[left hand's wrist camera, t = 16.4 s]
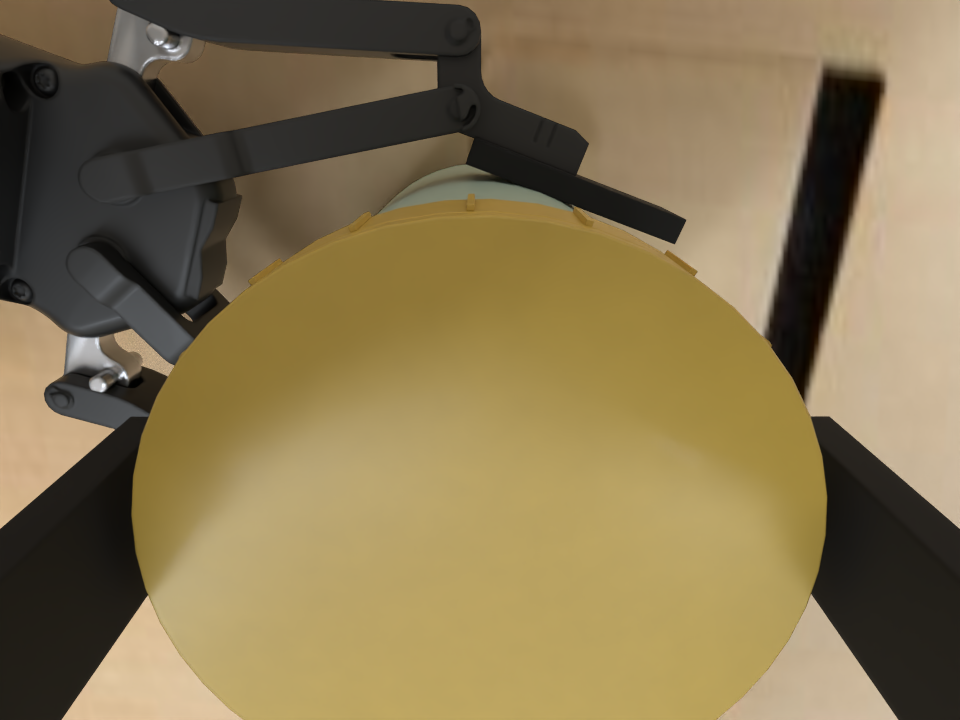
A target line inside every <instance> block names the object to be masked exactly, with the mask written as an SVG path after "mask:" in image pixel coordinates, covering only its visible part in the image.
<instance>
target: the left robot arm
mask: <svg viewBox="0 0 960 720" xmlns="http://www.w3.org/2000/svg"><path fill="white" fill-rule="evenodd" d="M148 418H149V417H130V418H128V419H127V420H126V421H125V422H124V423H123V424H122V425H120V426H119V427H118V428H117V429H116V430H115V431H113V432H112V433H111V434H110V435H109V436H108V437H106V438H105V439H104V440H103V441H102V442H101V443H99V444H98V445H97V446H96V447H95V448H94V449H93V450H91V451H90V452H89V453H88V454H87V455H86V456H84V457H83V458H82V459H81V460H80V461H79V462H77V463H76V464H75V465H74V466H73V467H72V468H70V469H69V470H68V471H67V472H66V473H65V474H64V475H62V476H61V477H60V478H59V479H58V480H57V481H55V482H54V483H53V484H52V485H51V486H50V487H48V488H47V489H46V490H45V491H44V492H43V493H41V494H40V495H39V496H38V497H37V498H36V499H35V500H33V501H32V502H31V503H30V504H29V505H28V506H26V507H25V508H24V509H23V510H22V511H21V512H19V513H18V514H17V515H16V516H15V517H14V518H12V519H11V520H10V521H9V522H8V523H7V524H6V525H4V526H3V527H2V528H1V529H0V720H62V718H63V717H64V715H65V714H66V712H67V711H68V710H69V708H70V707H71V705H72V704H73V702H74V701H75V699H76V698H77V697H78V695H79V694H80V692H81V691H82V689H83V688H84V686H85V685H86V684H87V682H88V681H89V679H90V678H91V676H92V675H93V673H94V672H95V671H96V669H97V668H98V666H99V665H100V663H101V662H102V660H103V659H104V658H105V656H106V655H107V653H108V652H109V650H110V649H111V647H112V646H113V645H114V643H115V642H116V640H117V639H118V637H119V636H120V634H121V633H122V632H123V630H124V629H125V627H126V626H127V624H128V623H129V621H130V620H131V619H132V617H133V616H134V614H135V613H136V611H137V610H138V609H139V607H140V606H141V604H142V603H143V601H144V600H145V598H146V597H147V596H148V593H147V591H146V589H145V585H144V582H143V578H142V574H141V571H140V567H139V563H138V559H137V556H136V551H135V542H134V534H133V525H132V516H131V512H132V491H133V474H134V469H135V464H136V460H137V455H138V450H139V445H140V441H141V436H142V433H143V430H144V428H145V425H146V423H147V420H148ZM811 420H812V423H813V427H814V430H815V433H816V437H817V440H818V444H819V447H820V450H821V454H822V459H823V467H824V475H825V483H826V491H827V515H826V536H825V541H824V547H823V552H822V557H821V562H820V567H819V572H818V575H817V578H816V581H815V583H814V586H813V589H812V592H811V594H812V596H813V597H814V598H815V600H816V601H817V603H818V604H819V606H820V607H821V609H822V610H823V611H824V613H825V614H826V616H827V617H828V619H829V620H830V622H831V623H832V624H833V626H834V627H835V629H836V630H837V632H838V633H839V634H840V636H841V637H842V639H843V640H844V642H845V643H846V645H847V646H848V647H849V649H850V650H851V652H852V653H853V655H854V656H855V658H856V659H857V660H858V662H859V663H860V665H861V666H862V668H863V669H864V671H865V672H866V673H867V675H868V676H869V678H870V679H871V681H872V682H873V684H874V685H875V686H876V688H877V689H878V691H879V692H880V694H881V695H882V697H883V698H884V699H885V701H886V702H887V704H888V705H889V707H890V708H891V710H892V711H893V712H894V714H895V715H896V717H897V718H898V720H960V529H959V528H958V527H957V526H956V525H954V524H953V523H952V522H951V521H950V520H949V519H948V518H946V517H945V516H944V515H943V514H942V513H941V512H939V511H938V510H937V509H936V508H935V507H934V506H932V505H931V504H930V503H929V502H928V501H927V500H925V499H924V498H923V497H922V496H921V495H920V494H919V493H917V492H916V491H915V490H914V489H913V488H912V487H910V486H909V485H908V484H907V483H906V482H905V481H903V480H902V479H901V478H900V477H899V476H898V475H896V474H895V473H894V472H893V471H892V470H891V469H890V468H888V467H887V466H886V465H885V464H884V463H883V462H881V461H880V460H879V459H878V458H877V457H876V456H874V455H873V454H872V453H871V452H870V451H869V450H867V449H866V448H865V447H864V446H863V445H862V444H861V443H859V442H858V441H857V440H856V439H855V438H854V437H852V436H851V435H850V434H849V433H848V432H847V431H845V430H844V429H843V428H842V427H841V426H840V425H838V424H837V423H836V422H835V421H834V420H833V419H832V418H830V417H811Z"/></svg>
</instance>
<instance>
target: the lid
mask: <svg viewBox="0 0 960 720" xmlns="http://www.w3.org/2000/svg"><path fill="white" fill-rule="evenodd" d="M696 273H697V271H696V270H695V269H694V268H692V267H691V266H689V265H688V264H687V263H685V262H684V261H682V260H681V259H680V258H678V257H677V256H675V255H674V254H673V253H671V252H670V251H668V250H667V251H666V253H665V254H663V253H662V252H661V251H659V250H657V249H655V248H654V247H652V246H650V245H648V244H646V243H645V242H643V241H641V240H639V239H638V238H636V237H634V236H632V235H630V234H629V233H627V232H625V231H623V230H621V229H618V228H616V227H613V226H611V225H608V224H606V223H603V222H600V221H598V220H595V219H593V218H590V217H589V216H588V215H587V214H586V213H585V212H583V211H582V210H581V209H580V208H577V207H574V209H573V212H571V211H567V210H562V209H558V208H554V207H550V206H546V205H542V204H538V203H528V202H519V201H509V200H499V199H475V194H468V198H467V200H443V201H437V202H431V203H426V204H420V205H414V206H408V207H402V208H398V209H394V210H391V211H388V212H385V213H382V214H378V215H375V216H372V217H371V213H370V212H366V213H364V214H363V215H361V216H360V217H359V218H358V219H357V220H355V221H354V222H353V223H352V224H350V225H348V226H346V227H343V228H341V229H339V230H337V231H335V232H333V233H331V234H329V235H326V236H324V237H322V238H320V239H318V240H316V241H315V242H313V243H312V244H310V245H308V246H307V247H305V248H304V249H302V250H301V251H299V252H298V253H296V254H295V255H293V256H292V257H290V258H289V259H287V260H286V261H284V262H282V261H281V260H280V259H278V260H276V261H275V262H274V263H272V264H271V265H269V266H268V267H267V268H265V269H264V270H262V271H261V272H260V273H258V274H257V275H255V276H254V277H253V278H251V279H250V280H249V281H248V282H249V283H250V284H251V285H252V286H250V287H249V288H247V289H246V290H245V291H244V292H242V293H241V294H240V295H239V296H238V297H237V298H236V299H235V300H233V301H232V302H231V303H230V304H229V305H228V306H227V307H226V308H224V309H223V310H222V311H221V312H220V313H219V314H218V315H217V316H215V317H214V318H213V319H212V320H211V321H210V322H209V323H208V324H207V325H206V326H205V328H204V329H203V330H202V331H201V332H200V334H199V335H198V336H197V337H196V338H195V340H194V341H193V342H192V343H191V344H190V346H189V347H188V348H187V349H186V350H185V351H184V352H183V353H181V355H180V356H179V359H178V361H177V363H176V364H175V366H174V368H173V369H172V371H171V373H170V375H169V376H168V378H167V380H166V381H165V383H164V385H163V386H162V388H161V390H160V392H159V393H158V395H157V397H156V400H155V402H154V405H153V407H152V410H151V412H150V415H149V418H148V420H147V423H146V425H145V428H144V430H143V433H142V436H141V441H140V445H139V450H138V455H137V460H136V464H135V469H134V474H133V491H132V512H131V516H132V525H133V534H134V542H135V551H136V556H137V559H138V563H139V567H140V571H141V574H142V578H143V582H144V585H145V589H146V591H147V593H148V596H149V598H150V600H151V603H152V605H153V607H154V610H155V612H156V614H157V616H158V619H159V621H160V623H161V625H162V626H163V628H164V630H165V631H166V633H167V635H168V636H169V638H170V640H171V641H172V643H173V644H174V646H175V648H176V649H177V651H178V653H179V654H180V656H181V657H182V658H183V659H184V660H185V662H186V663H187V664H188V665H189V667H190V668H191V669H192V670H193V672H194V673H195V674H196V675H197V677H198V678H199V679H200V680H201V682H202V683H203V684H204V685H205V686H206V687H207V688H208V689H209V690H210V691H211V692H212V693H213V694H214V695H216V696H217V697H218V698H219V699H220V700H221V701H222V702H223V703H224V704H225V705H226V706H227V707H228V708H229V709H230V710H231V711H233V712H234V713H235V714H237V715H238V716H239V717H241V718H242V719H243V720H716V719H718V718H719V717H720V716H721V715H722V714H723V713H725V712H726V711H727V710H728V709H729V708H730V707H732V706H733V705H734V704H735V703H736V702H737V701H739V700H740V699H741V698H742V697H743V696H744V695H745V694H746V693H747V692H748V691H749V689H750V688H751V687H752V686H753V685H754V684H755V683H756V682H757V681H758V680H759V679H760V677H761V676H762V675H763V674H764V673H765V672H766V671H767V670H768V668H769V667H770V666H771V664H772V663H773V661H774V660H775V659H776V657H777V656H778V654H779V653H780V652H781V650H782V649H783V647H784V646H785V645H786V643H787V642H788V640H789V639H790V637H791V635H792V633H793V631H794V629H795V627H796V625H797V623H798V621H799V620H800V618H801V616H802V614H803V612H804V610H805V608H806V606H807V603H808V600H809V597H810V595H811V592H812V589H813V586H814V583H815V581H816V578H817V575H818V572H819V567H820V562H821V557H822V552H823V547H824V541H825V536H826V515H827V491H826V483H825V475H824V467H823V459H822V454H821V450H820V447H819V444H818V440H817V437H816V433H815V430H814V427H813V423H812V420H811V416H810V414H809V412H808V410H807V408H806V406H805V404H804V402H803V400H802V398H801V396H800V394H799V391H798V389H797V387H796V385H795V383H794V381H793V379H792V377H791V376H790V374H789V373H788V372H787V370H786V369H785V367H784V366H783V364H782V363H781V361H780V360H779V359H778V357H777V356H776V354H775V353H774V351H773V350H772V349H771V347H772V345H771V344H770V342H769V341H768V340H767V339H765V338H764V337H763V336H761V335H760V334H759V333H758V332H757V331H756V330H755V329H754V328H753V327H752V326H751V325H750V324H749V322H748V321H747V320H746V319H745V318H744V317H743V316H742V315H741V314H740V313H739V312H738V311H737V310H736V309H735V308H734V307H733V306H732V305H730V304H729V303H728V302H726V301H725V300H724V299H723V298H721V297H720V296H719V295H717V294H716V293H715V292H713V291H712V290H711V289H710V288H708V287H707V286H706V285H704V284H703V283H702V282H701V281H699V280H698V279H697V278H695V277H694V276H695V274H696Z"/></svg>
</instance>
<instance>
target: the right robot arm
mask: <svg viewBox="0 0 960 720" xmlns="http://www.w3.org/2000/svg"><path fill="white" fill-rule="evenodd" d="M110 2H111V3H112V4H114V5H115V6H117V7H118V8H117V13H116V18H115V23H114V29H113V34H112V39H111V44H110V49H109V54H108V59H107V61H101V62H96V63H90V64H79V63H76V62H73V61H70V60H68V59H65V58H62V57H60V56H57V55H54V54H52V53H49V52H46V51H44V50H41V49H38V48H36V47H33V46H30V45H28V44H25V43H22V42H20V41H17V40H14V39H12V38H9V37H6V36H4V35H1V34H0V300H4V301H9V302H14V303H19V304H23V305H27V306H30V307H32V308H34V309H36V310H38V311H39V312H41V313H42V314H44V315H45V316H47V317H48V318H49V319H51V320H52V321H53V322H54V323H55V324H56V325H57V326H58V327H60V328H61V329H62V330H64V331H65V332H67V333H68V334H67V346H66V357H65V369H64V375H63V376H62V377H61V378H59V379H57V380H56V381H54V382H53V383H51V384H50V385H49V386H48V387H47V388H46V389H45V392H44V397H45V401H46V403H47V405H48V406H49V407H50V408H51V409H52V410H53V411H54V412H56V413H58V414H61V415H64V416H68V417H71V418H75V419H79V420H83V421H87V422H90V423H94V424H98V425H102V426H106V427H109V428H113V429H115V430H116V429H117V428H118V427H119V426H120V425H122V424H123V423H124V422H125V421H126V420H127V419H128V418H130V417H149V415H150V412H151V410H152V407H153V405H154V402H155V400H156V397H157V395H158V393H159V392H160V390H161V388H162V386H163V385H164V383H165V381H166V380H167V378H168V377H167V376H165V375H163V374H161V373H159V372H157V371H154V370H152V369H149V368H146V367H143V366H141V365H142V362H143V360H142V357H141V355H140V354H138V353H137V352H127V351H125V350H124V349H122V348H121V347H120V346H119V345H118V344H117V342H116V341H115V338H114V333H118V332H121V331H125V330H128V329H133V330H134V331H135V332H136V333H137V334H138V335H139V336H140V337H141V338H142V339H144V340H145V341H146V342H147V343H148V344H149V345H150V346H151V347H152V348H153V349H154V350H155V351H156V352H157V353H158V354H159V355H160V356H161V357H163V358H164V359H165V360H166V361H167V362H169V363H170V364H173V365H175V364H176V363H177V361H178V359H179V356H180V355H181V353H183V352H184V351H185V350H186V349H187V348H188V347H189V346H190V344H191V343H192V342H193V341H194V340H195V338H196V337H197V336H198V335H199V334H200V332H201V331H202V330H203V329H204V328H205V326H206V325H207V324H208V323H209V322H210V321H211V320H212V319H213V318H214V317H215V316H217V315H218V314H219V313H220V312H221V311H222V310H223V309H224V308H226V307H227V306H228V305H229V304H230V303H229V302H228V301H227V300H226V299H225V298H224V297H223V296H222V295H221V293H220V292H219V291H218V290H217V289H216V288H217V287H218V286H220V285H221V284H222V282H223V278H224V274H225V269H226V265H227V256H226V237H227V235H228V234H229V232H230V230H231V228H232V226H233V225H234V223H235V221H236V219H237V217H238V212H239V208H240V204H241V199H242V195H239V194H236V187H235V182H234V179H233V178H234V177H239V176H244V175H248V174H253V173H258V172H263V171H268V170H273V169H278V168H283V167H288V166H293V165H298V164H303V163H308V162H313V161H318V160H323V159H328V158H333V157H338V156H342V155H347V154H352V153H357V152H362V151H367V150H372V149H377V148H382V147H387V146H392V145H397V144H402V143H407V142H412V141H417V140H422V139H427V138H432V137H437V136H442V135H447V134H452V133H457V132H459V133H462V134H464V135H467V136H470V137H472V138H474V141H473V144H472V147H471V150H470V153H469V156H468V159H467V162H466V165H469V166H471V167H474V168H477V169H479V170H482V171H485V172H487V173H490V174H492V175H495V176H498V177H500V178H503V179H505V180H508V181H511V182H513V183H516V184H519V185H521V186H524V187H526V188H529V189H532V190H534V191H537V192H540V193H542V194H545V195H547V196H550V197H553V198H555V199H558V200H560V201H563V202H566V203H568V204H571V205H573V206H576V207H579V208H581V209H584V210H587V211H589V212H592V213H594V214H597V215H600V216H602V217H605V218H607V219H610V220H613V221H615V222H618V223H620V224H623V225H626V226H628V227H631V228H634V229H636V230H639V231H641V232H644V233H647V234H649V235H652V236H654V237H657V238H660V239H662V240H665V241H668V242H670V243H673V244H675V243H676V241H677V239H678V237H679V235H680V232H681V230H682V228H683V226H684V224H685V222H686V219H684V218H682V217H680V216H678V215H676V214H674V213H672V212H670V211H668V210H666V209H664V208H662V207H659V206H657V205H654V204H652V203H649V202H647V201H644V200H641V199H639V198H636V197H634V196H631V195H629V194H626V193H623V192H621V191H618V190H616V189H613V188H611V187H608V186H605V185H603V184H600V183H598V182H595V181H593V180H590V179H587V178H585V177H582V176H580V175H577V172H578V169H579V167H580V164H581V162H582V159H583V157H584V154H585V152H586V150H587V147H588V145H589V143H588V142H587V141H586V140H585V139H584V138H583V137H582V136H581V135H580V134H579V133H578V132H577V131H576V130H574V129H571V128H569V127H566V126H564V125H561V124H559V123H556V122H554V121H551V120H549V119H546V118H543V117H541V116H539V115H536V114H534V113H531V112H528V111H526V110H523V109H521V108H518V107H516V106H513V105H511V104H508V103H506V102H503V101H501V100H499V99H497V98H495V97H493V96H492V95H491V94H490V93H489V92H488V91H487V89H486V87H485V86H484V83H483V80H482V76H481V28H480V22H479V20H478V18H477V16H476V14H475V13H474V12H473V11H472V10H470V9H469V8H468V7H464V6H461V5H451V4H435V3H418V2H401V1H385V0H110ZM205 42H209V43H213V44H217V45H221V46H225V47H229V48H233V49H241V50H250V51H267V52H284V53H301V54H318V55H336V56H353V57H370V58H387V59H404V60H421V61H437V74H438V88H437V89H433V90H428V91H423V92H418V93H413V94H408V95H404V96H399V97H394V98H389V99H384V100H379V101H374V102H370V103H365V104H360V105H355V106H350V107H345V108H341V109H336V110H331V111H326V112H321V113H316V114H311V115H307V116H302V117H297V118H292V119H287V120H282V121H277V122H273V123H268V124H263V125H258V126H253V127H248V128H244V129H238V130H233V131H226V132H220V133H215V134H210V135H205V136H203V134H202V133H201V132H200V131H199V129H198V128H197V127H196V125H195V124H194V123H193V122H192V120H191V119H190V118H189V116H188V115H187V114H186V113H185V111H184V110H183V109H182V107H181V106H180V105H179V104H178V102H177V101H176V100H175V98H174V97H173V96H172V95H171V93H170V92H169V91H168V89H167V88H166V87H165V86H164V84H163V83H162V82H161V81H160V80H159V79H158V78H157V76H158V74H159V71H160V69H161V68H162V67H163V66H164V65H166V64H167V63H169V62H182V63H191V62H194V61H196V60H198V58H199V57H200V56H201V55H202V53H203V50H204V47H205ZM183 313H187V314H188V315H189V316H190V318H191V319H192V320H193V321H189V320H187V319H186V318H184V317H183V316H182V315H181V314H183Z"/></svg>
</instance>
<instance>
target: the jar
mask: <svg viewBox="0 0 960 720" xmlns="http://www.w3.org/2000/svg"><path fill="white" fill-rule="evenodd" d="M468 194H475V199H499V200H509V201H519V202H528V203H538V204H542V205H546V206H550V207H554V208H558V209H562V210H567V211H571V212H573V209H574V207H575V206H573V205H571V204H568V203H566V202H563V201H560V200H558V199H555V198H553V197H550V196H547V195H545V194H542V193H540V192H537V191H534V190H532V189H529V188H526V187H524V186H521V185H519V184H516V183H513V182H511V181H508V180H505V179H503V178H500V177H498V176H495V175H492V174H490V173H487V172H485V171H482V170H479V169H477V168H474V167H471V166H469V165H466V164H465V165H457V166H453V167H449V168H445V169H441V170H438V171H436V172H434V173H431V174H429V175H426V176H424V177H422V178H421V179H419V180H417V181H416V182H414V183H412V184H410V185H409V186H408V187H406V188H405V189H404V190H403V191H401V192H400V193H399V194H398V195H396V196H395V197H394V198H393V199H392V200H391V201H390V202H389V203H388V204H387V205H386V206H385V207H384V208H383V209H382V210H381V211H380V212H379V213H378V214H382V213H385V212H388V211H391V210H394V209H398V208H402V207H408V206H414V205H420V204H426V203H431V202H437V201H443V200H467V198H468ZM378 214H377V215H378Z"/></svg>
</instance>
